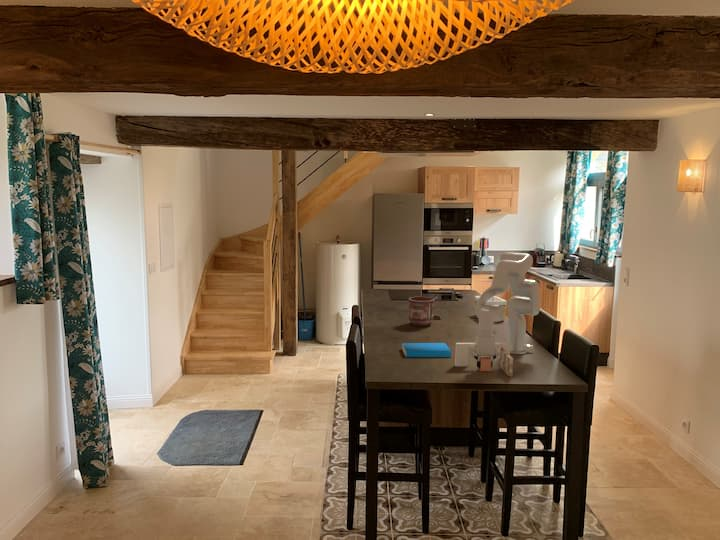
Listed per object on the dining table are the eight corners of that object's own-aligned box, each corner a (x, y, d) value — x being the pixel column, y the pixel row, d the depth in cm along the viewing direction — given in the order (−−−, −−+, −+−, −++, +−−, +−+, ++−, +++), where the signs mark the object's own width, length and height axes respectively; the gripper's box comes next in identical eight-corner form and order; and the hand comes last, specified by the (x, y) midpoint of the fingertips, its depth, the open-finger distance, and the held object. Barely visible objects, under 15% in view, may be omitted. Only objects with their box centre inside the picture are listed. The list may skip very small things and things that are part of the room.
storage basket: (473, 314, 426) (473, 295, 424) (494, 314, 429) (494, 294, 427) (484, 322, 403) (485, 301, 401) (507, 321, 405) (508, 300, 403)
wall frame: (508, 365, 303) (509, 342, 301) (509, 366, 301) (510, 343, 299) (455, 365, 302) (455, 342, 300) (455, 366, 300) (456, 343, 298)
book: (401, 343, 331) (445, 342, 333) (401, 350, 332) (444, 349, 333) (405, 351, 314) (451, 350, 316) (405, 358, 315) (451, 357, 316)
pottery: (435, 328, 383) (436, 301, 381) (408, 327, 384) (409, 300, 381) (432, 322, 401) (433, 296, 399) (407, 321, 401) (407, 296, 399)
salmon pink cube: (487, 367, 296) (488, 356, 295) (490, 371, 290) (491, 359, 289) (478, 367, 296) (478, 356, 295) (481, 371, 290) (481, 359, 289)
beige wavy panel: (499, 366, 300) (500, 348, 299) (502, 366, 300) (503, 348, 299) (508, 377, 283) (509, 358, 282) (512, 377, 283) (513, 358, 282)
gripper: (500, 331, 294) (499, 365, 297) (467, 331, 294) (466, 366, 296) (504, 335, 287) (503, 370, 289) (470, 335, 286) (469, 370, 289)
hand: (484, 367), depth 293 cm, fingers closed on salmon pink cube, 5 cm apart
